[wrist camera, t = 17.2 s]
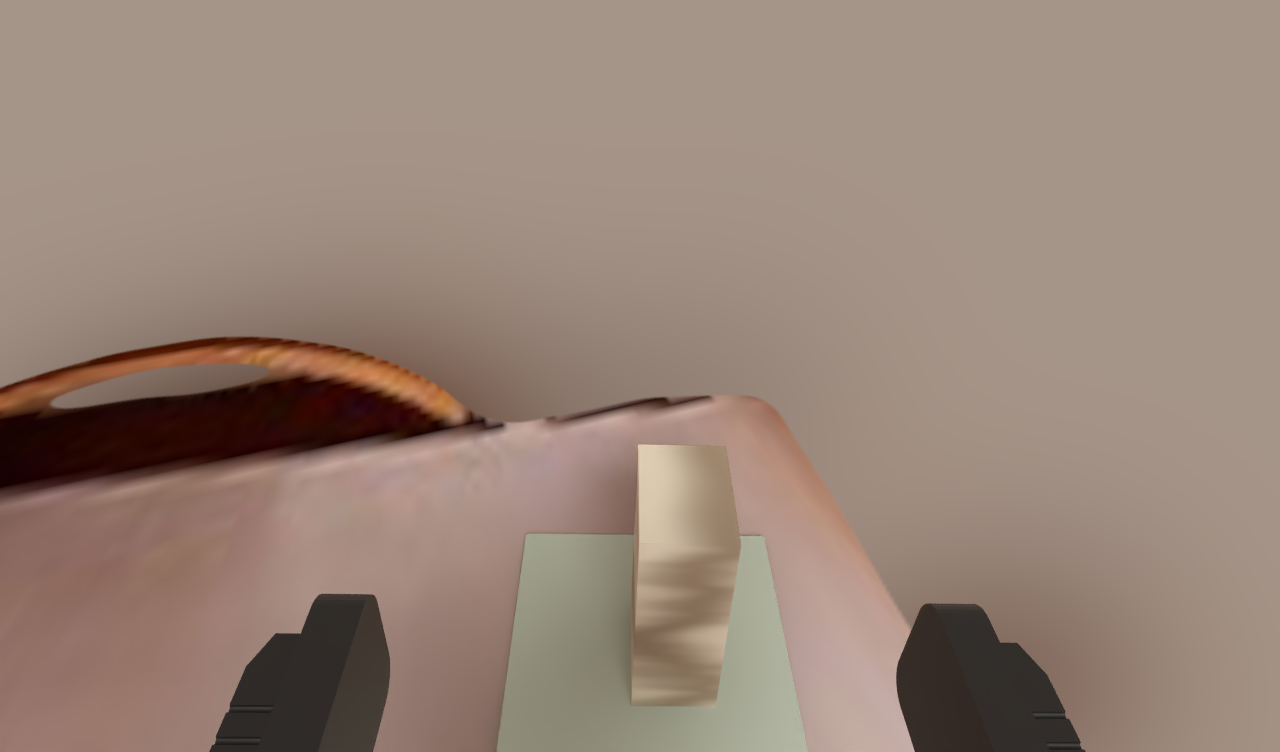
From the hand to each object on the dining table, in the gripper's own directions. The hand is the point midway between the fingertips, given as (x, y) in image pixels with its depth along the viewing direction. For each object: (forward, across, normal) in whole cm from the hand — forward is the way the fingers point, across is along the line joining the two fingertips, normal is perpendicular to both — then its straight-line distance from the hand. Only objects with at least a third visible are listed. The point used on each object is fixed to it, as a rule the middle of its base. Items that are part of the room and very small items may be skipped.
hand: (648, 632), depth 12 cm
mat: (+17, -2, +25) cm, 30 cm away
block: (+16, -3, +24) cm, 29 cm away
